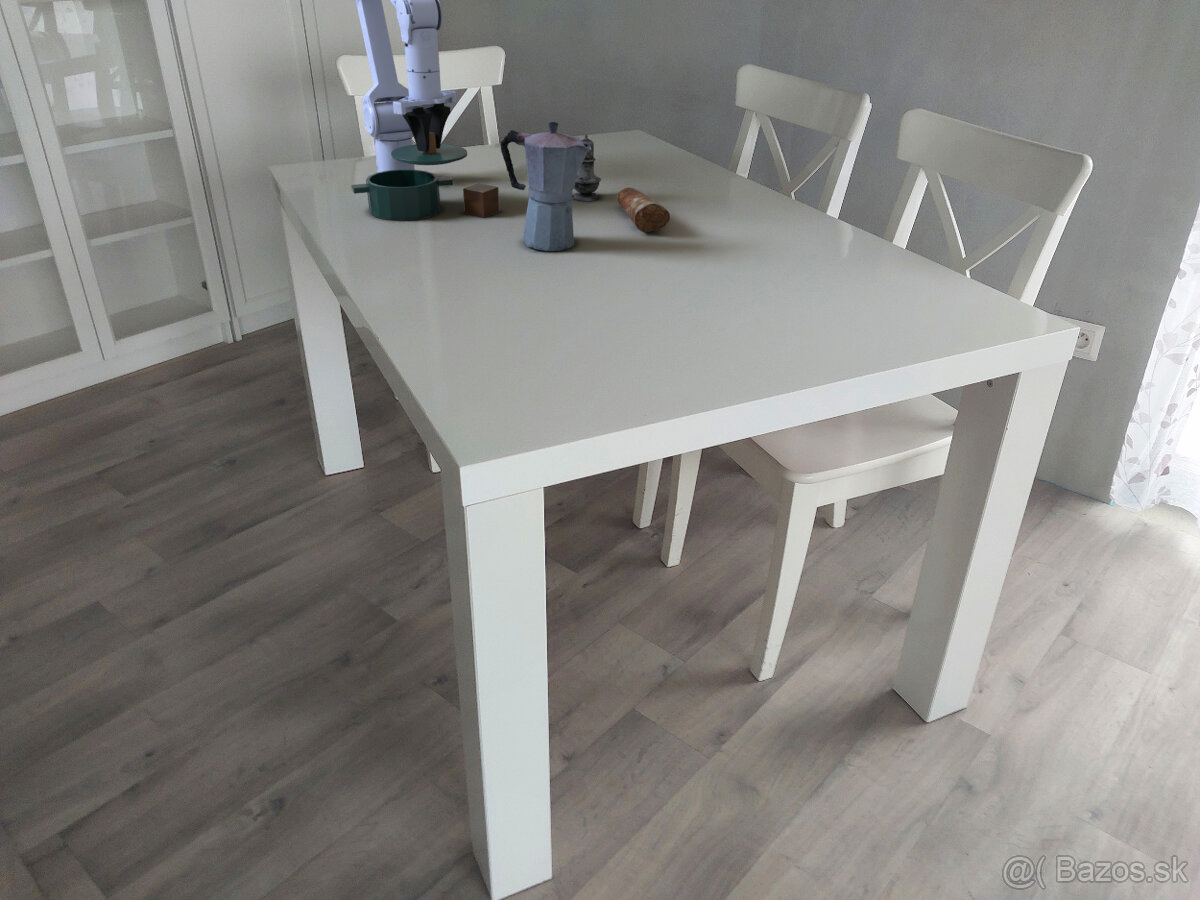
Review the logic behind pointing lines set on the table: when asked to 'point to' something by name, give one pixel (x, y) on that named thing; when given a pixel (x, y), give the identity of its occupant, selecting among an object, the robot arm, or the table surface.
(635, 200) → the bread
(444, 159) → the lid
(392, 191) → the pot
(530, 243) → the moka pot
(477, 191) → the block
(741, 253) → the table surface
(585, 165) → the salt shaker
